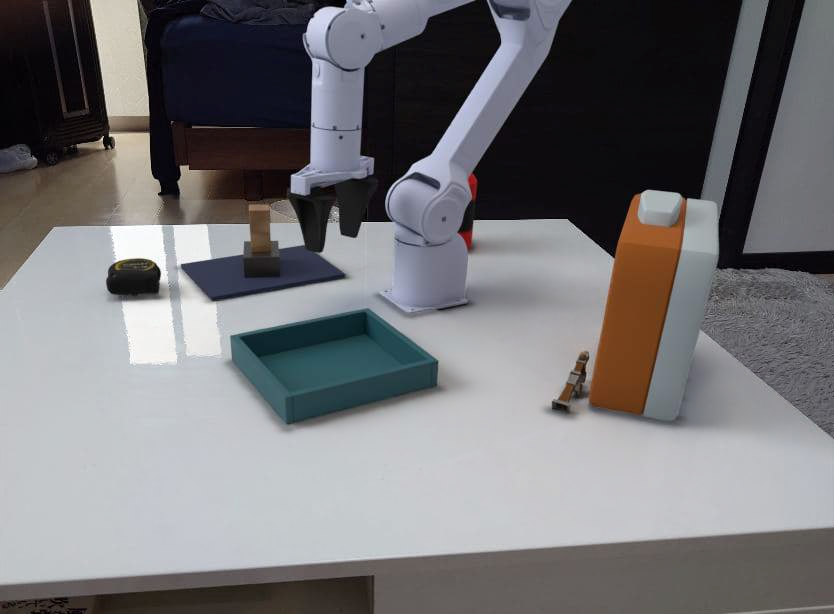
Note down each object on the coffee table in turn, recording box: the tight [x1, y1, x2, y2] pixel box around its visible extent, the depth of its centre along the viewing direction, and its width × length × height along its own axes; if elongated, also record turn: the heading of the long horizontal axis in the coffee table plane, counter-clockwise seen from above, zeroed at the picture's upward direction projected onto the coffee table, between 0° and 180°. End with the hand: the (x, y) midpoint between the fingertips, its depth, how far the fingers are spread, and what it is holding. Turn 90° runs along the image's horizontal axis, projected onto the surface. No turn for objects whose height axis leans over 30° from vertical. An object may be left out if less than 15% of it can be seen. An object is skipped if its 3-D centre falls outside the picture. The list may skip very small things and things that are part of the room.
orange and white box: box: [588, 189, 720, 422], centre depth 81 cm, size 18×9×21 cm, turn 159°
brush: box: [242, 203, 280, 278], centre depth 110 cm, size 5×7×9 cm
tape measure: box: [105, 257, 162, 297], centre depth 105 cm, size 7×7×4 cm
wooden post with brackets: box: [551, 350, 590, 413], centre depth 81 cm, size 2×8×4 cm, turn 149°
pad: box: [180, 244, 346, 302], centre depth 112 cm, size 20×14×1 cm
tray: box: [229, 307, 440, 425], centre depth 85 cm, size 18×16×4 cm
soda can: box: [457, 172, 478, 251], centre depth 121 cm, size 8×8×12 cm
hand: (332, 243), depth 94 cm, fingers open, 7 cm apart
